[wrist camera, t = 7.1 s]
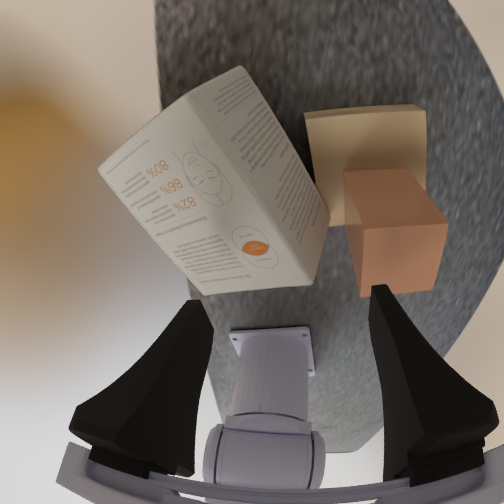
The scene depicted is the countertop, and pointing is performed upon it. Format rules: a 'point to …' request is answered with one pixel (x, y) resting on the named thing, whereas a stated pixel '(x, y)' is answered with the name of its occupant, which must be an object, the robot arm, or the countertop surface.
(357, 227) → the block
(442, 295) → the countertop surface
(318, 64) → the countertop surface
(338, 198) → the base slab
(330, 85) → the countertop surface
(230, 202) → the small box
